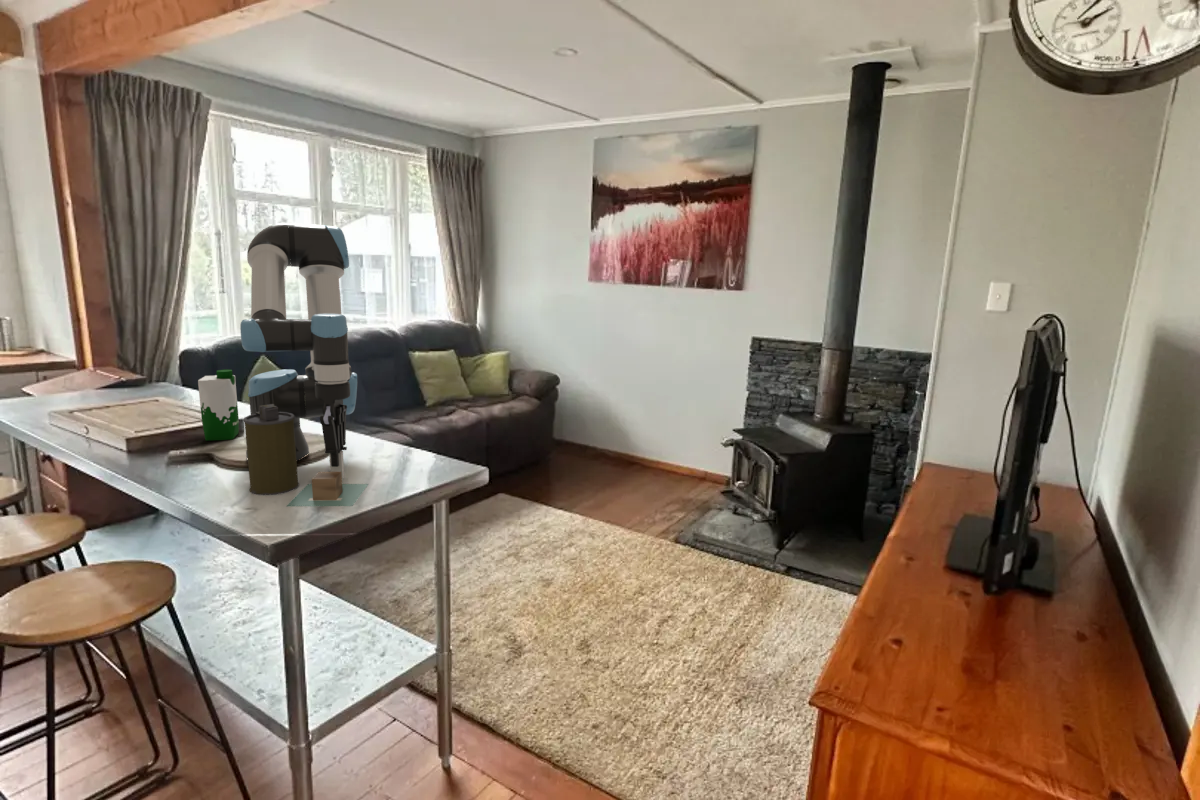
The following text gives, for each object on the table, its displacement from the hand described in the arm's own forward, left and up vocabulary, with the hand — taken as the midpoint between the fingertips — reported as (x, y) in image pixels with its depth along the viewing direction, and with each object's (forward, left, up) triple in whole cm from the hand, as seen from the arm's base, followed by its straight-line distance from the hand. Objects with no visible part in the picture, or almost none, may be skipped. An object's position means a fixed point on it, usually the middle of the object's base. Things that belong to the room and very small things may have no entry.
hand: (337, 477), depth 150 cm
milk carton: (-42, -45, -2) cm, 61 cm away
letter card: (+6, 0, -2) cm, 7 cm away
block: (+7, 0, -2) cm, 8 cm away
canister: (+1, -14, -2) cm, 14 cm away
